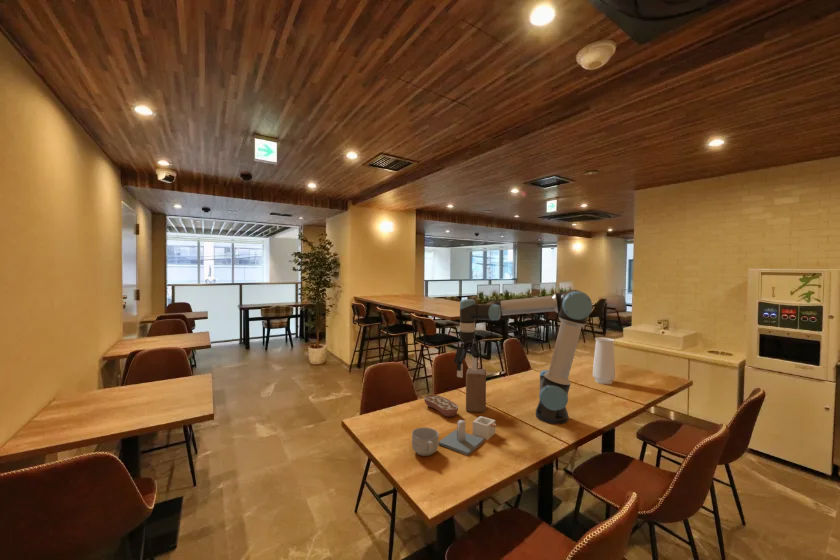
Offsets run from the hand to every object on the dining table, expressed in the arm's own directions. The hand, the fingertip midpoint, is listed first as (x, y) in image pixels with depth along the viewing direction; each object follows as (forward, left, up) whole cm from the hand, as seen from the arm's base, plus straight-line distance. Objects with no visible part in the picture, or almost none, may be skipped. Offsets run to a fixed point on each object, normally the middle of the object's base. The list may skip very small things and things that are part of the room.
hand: (467, 373), depth 172 cm
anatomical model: (+14, +2, -22) cm, 26 cm away
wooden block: (+1, -12, -22) cm, 25 cm away
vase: (-45, -101, -22) cm, 112 cm away
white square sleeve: (-15, +11, -22) cm, 29 cm away
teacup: (-4, +40, -22) cm, 46 cm away
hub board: (-11, +24, -22) cm, 34 cm away
